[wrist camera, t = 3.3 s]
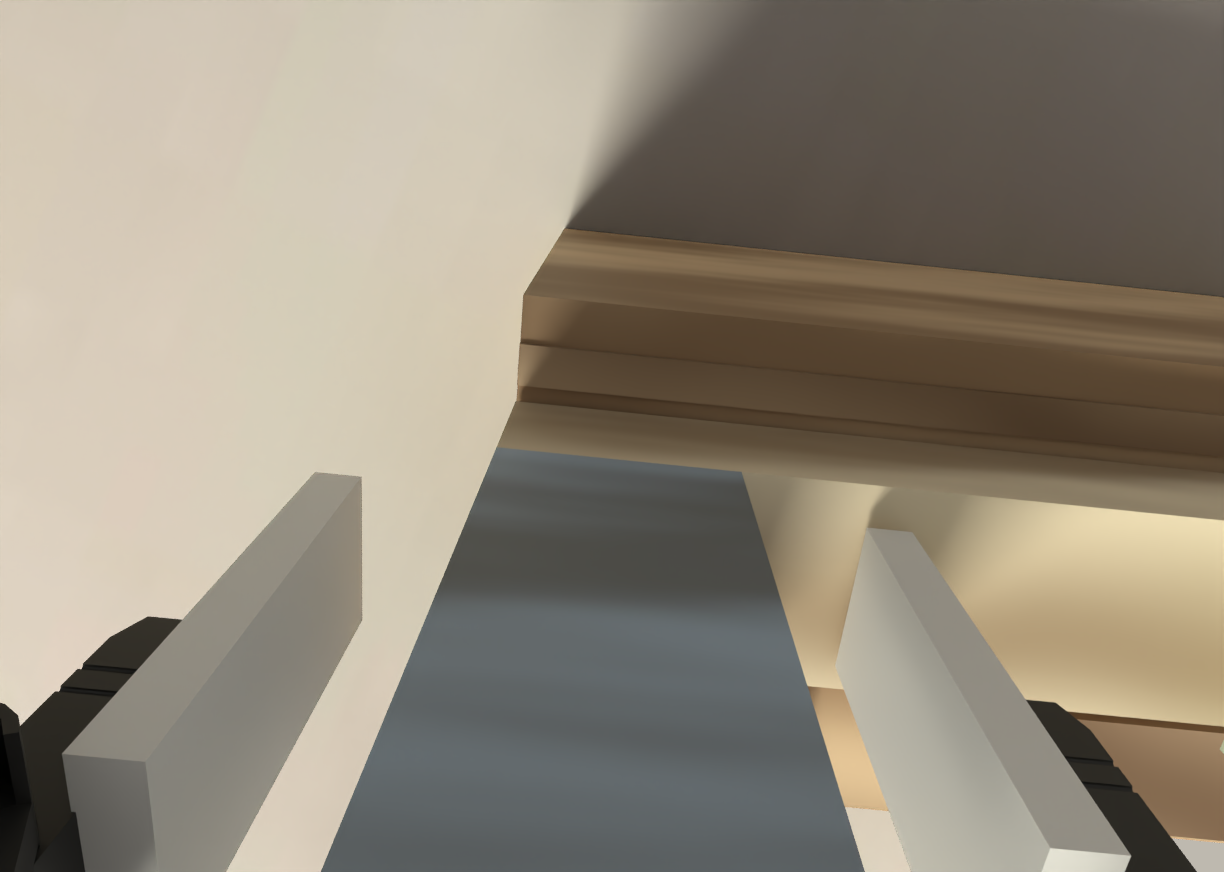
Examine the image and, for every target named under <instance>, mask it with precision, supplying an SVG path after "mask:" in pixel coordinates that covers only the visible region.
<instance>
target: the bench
mask: <svg viewBox="0 0 1224 872" xmlns="http://www.w3.org/2000/svg"><path fill="white" fill-rule="evenodd" d="M517 385H518V389H517V401H519V402H529V403H539V404H549V405H559V406H568V407H578V408H588V409H598V410H608V411H618V412H627V413H637V414H647V415H657V416H667V417H677V418H687V419H696V420H706V421H716V422H726V423H736V424H746V425H755V426H765V427H775V428H785V429H795V430H805V431H815V432H824V433H834V434H844V435H854V436H864V437H874V438H883V439H893V440H903V441H913V442H923V443H933V444H943V445H952V446H962V447H972V448H982V449H992V450H1002V451H1011V452H1021V453H1031V454H1041V455H1051V456H1061V457H1071V458H1080V459H1090V460H1100V461H1110V462H1120V463H1130V464H1139V465H1149V466H1159V467H1169V468H1179V469H1189V470H1198V471H1208V472H1218V473H1224V297H1217V296H1208V295H1198V294H1189V293H1179V292H1169V291H1160V290H1150V289H1141V288H1131V287H1122V286H1112V285H1102V284H1093V283H1083V282H1074V281H1064V280H1054V279H1045V278H1035V277H1026V276H1016V275H1007V274H997V273H987V272H978V271H968V270H959V269H949V268H939V267H930V266H920V265H911V264H901V263H892V262H882V261H872V260H863V259H853V258H844V257H834V256H824V255H815V254H805V253H796V252H786V251H776V250H767V249H757V248H748V247H738V246H729V245H719V244H709V243H700V242H690V241H681V240H671V239H661V238H652V237H642V236H633V235H623V234H614V233H604V232H594V231H585V230H575V229H566V228H565V229H564V230H563V232H562V234H561V235H560V237H559V238H558V240H557V242H556V243H555V245H554V246H553V248H552V250H551V251H550V253H549V254H548V256H547V258H546V259H545V261H544V263H543V264H542V266H541V267H540V269H539V271H538V272H537V274H536V275H535V277H534V279H533V280H532V282H531V283H530V285H529V287H528V288H527V290H526V291H525V293H524V295H523V310H522V326H521V342H520V348H519V364H518V380H517ZM808 689H809V693H810V696H811V699H812V702H813V706H814V709H815V712H816V715H817V719H818V722H819V725H820V728H821V732H822V735H823V738H824V741H825V745H826V748H827V751H828V754H829V758H830V761H831V764H832V767H833V771H834V774H835V777H836V780H837V784H838V787H839V790H840V793H841V796H842V800H843V803H844V806H845V807H852V808H863V809H873V810H883V811H889V810H888V808H887V805H886V802H885V800H884V797H883V794H882V791H881V789H880V786H879V783H878V781H877V778H876V775H875V772H874V770H873V767H872V764H871V762H870V759H869V756H868V754H867V751H866V748H865V745H864V743H863V740H862V737H861V735H860V732H859V729H858V726H857V724H856V721H855V718H854V716H853V713H852V710H851V708H850V705H849V702H848V699H847V697H846V694H845V691H844V690H843V689H833V688H823V687H812V686H808ZM1067 712H1068V713H1070V714H1071V715H1072V716H1073V717H1075V718H1076V719H1077V720H1078V721H1080V722H1081V723H1082V724H1083V725H1085V726H1086V727H1087V728H1089V729H1090V730H1091V731H1092V733H1093V734H1094V735H1095V737H1096V738H1097V739H1098V741H1099V742H1100V743H1101V745H1102V746H1103V747H1104V749H1105V750H1106V751H1107V753H1108V754H1109V755H1110V757H1111V758H1112V759H1113V765H1114V767H1119V769H1120V770H1121V771H1122V773H1123V774H1124V775H1125V777H1126V778H1127V779H1128V781H1129V782H1130V783H1131V785H1132V786H1133V787H1132V790H1133V792H1134V793H1138V794H1139V795H1140V797H1141V798H1142V799H1143V801H1144V802H1145V803H1146V805H1147V806H1148V807H1149V809H1150V810H1151V811H1152V813H1153V814H1154V815H1155V817H1156V818H1157V819H1158V821H1159V822H1160V823H1161V825H1162V826H1163V827H1164V829H1165V830H1166V831H1167V833H1168V834H1169V835H1170V837H1171V838H1176V839H1186V840H1197V841H1207V842H1219V843H1224V753H1223V752H1222V751H1221V750H1220V747H1221V745H1222V743H1223V740H1224V727H1222V726H1212V725H1202V724H1192V723H1181V722H1171V721H1161V720H1151V719H1140V718H1130V717H1120V716H1110V715H1099V714H1089V713H1079V712H1069V711H1067Z"/></svg>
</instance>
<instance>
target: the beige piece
mask: <svg viewBox="0 0 1224 872" xmlns="http://www.w3.org/2000/svg"><path fill="white" fill-rule="evenodd" d="M867 528H877V529H887V530H897V531H907V532H913V534H914V535H915V537H916V538H917V540H918V541H919V543H920V544H921V546H922V547H923V549H924V550H925V552H926V553H927V555H928V556H929V558H930V559H931V561H932V562H933V563H934V565H935V566H936V568H937V569H938V571H939V572H940V574H941V575H942V577H943V578H944V580H945V581H946V583H947V584H948V586H949V587H950V589H951V590H952V592H953V593H954V595H955V596H956V597H957V599H958V600H959V602H960V603H961V605H962V606H963V608H964V609H965V611H966V612H967V614H968V615H969V617H970V618H971V620H972V621H973V623H974V624H975V626H976V627H977V629H978V630H979V631H980V633H981V634H982V636H983V637H984V639H985V640H986V642H987V643H988V645H989V646H990V648H991V649H992V651H993V652H994V654H995V655H996V657H997V658H998V660H999V661H1000V663H1001V664H1002V665H1003V667H1004V668H1005V670H1006V671H1007V673H1008V674H1009V676H1010V677H1011V679H1012V680H1013V682H1014V683H1015V685H1016V686H1017V688H1018V689H1019V691H1020V692H1021V694H1022V695H1023V697H1024V698H1025V699H1026V700H1035V701H1045V702H1055V703H1057V704H1058V705H1060V706H1061V707H1062V708H1063V709H1065V710H1066V711H1069V712H1079V713H1089V714H1099V715H1110V716H1120V717H1130V718H1140V719H1151V720H1161V721H1171V722H1181V723H1192V724H1202V725H1212V726H1222V727H1224V473H1218V472H1208V471H1198V470H1189V469H1179V468H1169V467H1159V466H1149V465H1139V464H1130V463H1120V462H1110V461H1100V460H1090V459H1080V458H1071V457H1061V456H1051V455H1041V454H1031V453H1021V452H1011V451H1002V450H992V449H982V448H972V447H962V446H952V445H943V444H933V443H923V442H913V441H903V440H893V439H883V438H874V437H864V436H854V435H844V434H834V433H824V432H815V431H805V430H795V429H785V428H775V427H765V426H755V425H746V424H736V423H726V422H716V421H706V420H696V419H687V418H677V417H667V416H657V415H647V414H637V413H627V412H618V411H608V410H598V409H588V408H578V407H568V406H559V405H549V404H539V403H529V402H519V401H516V402H515V405H514V407H513V409H512V412H511V414H510V417H509V419H508V421H507V424H506V426H505V429H504V431H503V433H502V436H501V438H500V441H499V443H498V446H497V448H496V450H495V453H494V455H493V458H492V460H491V462H490V465H489V467H488V470H487V472H486V475H485V477H484V479H483V482H482V484H481V487H480V489H479V491H478V494H477V496H476V499H475V501H474V503H473V506H472V508H471V511H470V513H469V516H468V518H467V520H466V523H465V525H464V528H463V530H462V532H461V535H460V537H459V540H458V542H457V545H456V547H455V549H454V552H453V554H452V557H451V559H450V561H449V564H448V566H447V569H446V571H445V573H444V576H443V578H442V581H441V583H440V586H439V588H438V590H437V593H436V595H435V598H434V600H433V602H432V605H431V607H430V610H429V612H428V615H427V617H426V619H425V622H424V624H423V627H422V629H421V631H420V634H419V636H418V639H417V641H416V643H415V646H414V648H413V651H412V653H411V656H410V658H409V660H408V663H407V665H406V668H405V670H404V672H403V675H402V677H401V680H400V682H399V685H398V687H397V689H396V692H395V694H394V697H393V699H392V701H391V704H390V706H389V709H388V711H387V714H386V716H385V718H384V721H383V723H382V726H381V728H380V730H379V733H378V735H377V738H376V740H375V742H374V745H373V747H372V750H371V752H370V755H369V757H368V759H367V762H366V764H365V767H364V769H363V771H362V774H361V776H360V779H359V781H358V784H357V786H356V788H355V791H354V793H353V796H352V798H351V800H350V803H349V805H348V808H347V810H346V812H345V815H344V817H343V820H342V822H341V825H340V827H339V829H338V832H337V834H336V837H335V839H334V841H333V844H332V846H331V849H330V851H329V854H328V856H327V858H326V861H325V863H324V866H323V868H322V870H321V872H865V871H864V868H863V865H862V861H861V858H860V855H859V852H858V848H857V845H856V842H855V839H854V835H853V832H852V829H851V826H850V822H849V819H848V816H847V813H846V809H845V806H844V803H843V800H842V796H841V793H840V790H839V787H838V784H837V780H836V777H835V774H834V771H833V767H832V764H831V761H830V758H829V754H828V751H827V748H826V745H825V741H824V738H823V735H822V732H821V728H820V725H819V722H818V719H817V715H816V712H815V709H814V706H813V702H812V699H811V696H810V693H809V689H808V686H812V687H823V688H833V689H843V686H842V683H841V681H840V678H839V675H838V672H837V670H836V667H835V664H836V660H837V656H838V651H839V647H840V642H841V638H842V634H843V629H844V625H845V620H846V616H847V612H848V607H849V603H850V599H851V594H852V590H853V585H854V581H855V577H856V572H857V568H858V564H859V559H860V555H861V550H862V546H863V542H864V537H865V533H866V529H867ZM843 690H844V689H843Z"/></svg>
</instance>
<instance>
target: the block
mask: <svg viewBox="0 0 1224 872" xmlns="http://www.w3.org/2000/svg"><path fill="white" fill-rule="evenodd" d="M1220 750H1221V751H1222V752H1223V753H1224V740H1223V743H1222V745H1221V747H1220Z"/></svg>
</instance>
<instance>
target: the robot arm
mask: <svg viewBox="0 0 1224 872" xmlns="http://www.w3.org/2000/svg"><path fill="white" fill-rule="evenodd" d="M361 621H362V484H361V477H358V476H348V475H338V474H328V473H318V472H315V473H314V474H313V475H312V476H311V477H310V479H309V480H308V481H307V482H306V483H305V484H304V485H303V486H302V487H301V489H300V490H299V491H298V492H297V493H296V494H295V495H294V496H293V497H292V499H291V500H290V501H289V502H288V503H287V504H286V505H285V506H284V507H283V509H282V510H281V511H280V512H279V513H278V514H277V515H276V516H275V517H274V519H273V520H272V521H271V522H270V523H269V524H268V525H267V526H266V527H265V529H264V530H263V531H262V532H261V533H260V534H259V535H258V536H257V537H256V539H255V540H254V541H253V542H252V543H251V544H250V545H249V546H248V547H247V549H246V550H245V551H244V552H243V553H242V554H241V555H240V556H239V557H238V559H237V560H236V561H235V562H234V563H233V564H232V565H231V566H230V568H229V569H228V570H227V571H226V572H225V573H224V574H223V575H222V576H221V578H220V579H219V580H218V581H217V582H216V583H215V584H214V585H213V586H212V588H211V589H210V590H209V591H208V592H207V593H206V594H205V595H204V596H203V598H202V599H201V600H200V601H199V602H198V603H197V604H196V605H195V606H194V608H193V609H192V610H191V611H190V612H189V613H188V614H187V615H186V616H185V618H184V619H183V620H179V619H168V618H158V617H146V618H144V619H143V620H141V621H139V622H137V623H135V624H133V625H132V626H130V627H128V628H126V629H124V630H122V631H121V632H119V633H117V634H115V635H113V636H111V637H110V638H109V639H108V640H107V641H106V642H105V643H104V644H103V645H102V646H101V647H100V648H98V649H97V650H96V651H95V652H94V653H93V654H92V655H91V656H90V657H89V658H88V659H87V660H86V661H85V662H84V663H83V667H82V669H77V670H76V671H75V672H74V673H73V674H72V675H71V676H70V677H69V678H68V679H67V680H66V681H65V682H64V683H63V684H62V685H61V689H60V691H59V692H54V693H53V694H52V695H51V696H50V697H49V698H48V699H47V700H46V701H45V702H44V703H43V704H42V705H41V706H40V707H39V708H38V709H37V710H36V711H35V712H34V713H33V714H32V715H31V716H30V717H29V718H28V719H27V720H26V721H25V722H24V723H23V724H22V725H21V726H20V724H19V718H18V715H17V714H16V713H15V712H13V711H12V710H11V709H10V708H9V707H8V706H6V705H5V704H3V703H0V872H226V871H227V869H228V867H229V865H230V863H231V861H232V860H233V858H234V856H235V854H236V852H237V850H238V848H239V847H240V845H241V843H242V841H243V839H244V837H245V835H246V834H247V832H248V830H249V828H250V826H251V824H252V823H253V821H254V819H255V817H256V815H257V813H258V811H259V810H260V808H261V806H262V804H263V802H264V800H265V798H266V797H267V795H268V793H269V791H270V789H271V787H272V786H273V784H274V782H275V780H276V778H277V776H278V774H279V773H280V771H281V769H282V767H283V765H284V763H285V761H286V760H287V758H288V756H289V754H290V752H291V750H292V749H293V747H294V745H295V743H296V741H297V739H298V737H299V736H300V734H301V732H302V730H303V728H304V726H305V724H306V723H307V721H308V719H309V717H310V715H311V713H312V712H313V710H314V708H315V706H316V704H317V702H318V700H319V699H320V697H321V695H322V693H323V691H324V689H325V687H326V686H327V684H328V682H329V680H330V678H331V676H332V675H333V673H334V671H335V669H336V667H337V665H338V663H339V662H340V660H341V658H342V656H343V654H344V652H345V650H346V649H347V647H348V645H349V643H350V641H351V639H352V638H353V636H354V634H355V632H356V630H357V628H358V626H359V625H360V623H361ZM835 667H836V670H837V672H838V675H839V678H840V681H841V683H842V686H843V689H844V691H845V694H846V697H847V699H848V702H849V705H850V708H851V710H852V713H853V716H854V718H855V721H856V724H857V726H858V729H859V732H860V735H861V737H862V740H863V743H864V745H865V748H866V751H867V754H868V756H869V759H870V762H871V764H872V767H873V770H874V772H875V775H876V778H877V781H878V783H879V786H880V789H881V791H882V794H883V797H884V800H885V802H886V805H887V808H888V810H889V813H890V816H891V818H892V821H893V824H894V827H895V829H896V832H897V835H898V837H899V840H900V843H901V845H902V848H903V851H904V854H905V856H906V859H907V862H908V864H909V867H910V870H911V872H1197V871H1196V870H1195V869H1194V867H1193V866H1192V865H1191V863H1190V862H1189V861H1188V859H1187V858H1186V857H1185V855H1184V854H1183V853H1182V851H1181V850H1180V849H1179V848H1178V846H1177V845H1176V843H1175V842H1174V841H1173V839H1172V838H1171V837H1170V835H1169V834H1168V833H1167V831H1166V830H1165V829H1164V827H1163V826H1162V825H1161V823H1160V822H1159V821H1158V819H1157V818H1156V817H1155V815H1154V814H1153V813H1152V811H1151V810H1150V809H1149V807H1148V806H1147V805H1146V803H1145V802H1144V801H1143V799H1142V798H1141V797H1140V795H1139V794H1138V793H1134V792H1133V790H1132V787H1133V786H1132V785H1131V783H1130V782H1129V781H1128V779H1127V778H1126V777H1125V775H1124V774H1123V773H1122V771H1121V770H1120V769H1119V767H1114V765H1113V759H1112V758H1111V757H1110V755H1109V754H1108V753H1107V751H1106V750H1105V749H1104V747H1103V746H1102V745H1101V743H1100V742H1099V741H1098V739H1097V738H1096V737H1095V735H1094V734H1093V733H1092V731H1091V730H1090V729H1089V728H1087V727H1086V726H1085V725H1083V724H1082V723H1081V722H1080V721H1078V720H1077V719H1076V718H1075V717H1073V716H1072V715H1071V714H1070V713H1068V712H1067V711H1066V710H1065V709H1063V708H1062V707H1061V706H1060V705H1058V704H1057V703H1055V702H1045V701H1035V700H1026V699H1025V698H1024V697H1023V695H1022V694H1021V692H1020V691H1019V689H1018V688H1017V686H1016V685H1015V683H1014V682H1013V680H1012V679H1011V677H1010V676H1009V674H1008V673H1007V671H1006V670H1005V668H1004V667H1003V665H1002V664H1001V663H1000V661H999V660H998V658H997V657H996V655H995V654H994V652H993V651H992V649H991V648H990V646H989V645H988V643H987V642H986V640H985V639H984V637H983V636H982V634H981V633H980V631H979V630H978V629H977V627H976V626H975V624H974V623H973V621H972V620H971V618H970V617H969V615H968V614H967V612H966V611H965V609H964V608H963V606H962V605H961V603H960V602H959V600H958V599H957V597H956V596H955V595H954V593H953V592H952V590H951V589H950V587H949V586H948V584H947V583H946V581H945V580H944V578H943V577H942V575H941V574H940V572H939V571H938V569H937V568H936V566H935V565H934V563H933V562H932V561H931V559H930V558H929V556H928V555H927V553H926V552H925V550H924V549H923V547H922V546H921V544H920V543H919V541H918V540H917V538H916V537H915V535H914V534H913V532H907V531H897V530H887V529H877V528H867V529H866V533H865V537H864V542H863V546H862V550H861V555H860V559H859V564H858V568H857V572H856V577H855V581H854V585H853V590H852V594H851V599H850V603H849V607H848V612H847V616H846V620H845V625H844V629H843V634H842V638H841V642H840V647H839V651H838V656H837V660H836V664H835Z"/></svg>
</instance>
